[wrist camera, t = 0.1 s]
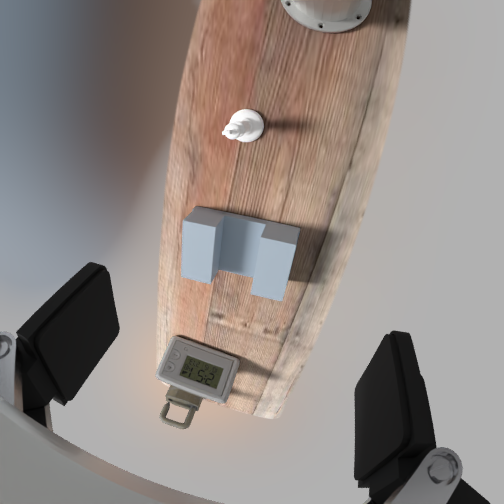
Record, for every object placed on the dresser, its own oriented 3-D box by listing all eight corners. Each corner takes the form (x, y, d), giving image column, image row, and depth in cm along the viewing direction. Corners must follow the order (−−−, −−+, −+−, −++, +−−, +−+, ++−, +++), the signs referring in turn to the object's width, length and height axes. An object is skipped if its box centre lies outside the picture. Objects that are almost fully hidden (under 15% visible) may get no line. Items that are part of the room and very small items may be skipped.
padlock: (177, 369, 71) (154, 416, 58) (208, 378, 70) (188, 427, 57) (177, 378, 73) (156, 423, 60) (207, 387, 72) (189, 434, 59)
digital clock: (245, 358, 64) (233, 397, 54) (228, 377, 68) (216, 413, 59) (178, 324, 63) (158, 359, 53) (167, 346, 67) (149, 379, 58)
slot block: (195, 205, 48) (181, 220, 43) (300, 227, 47) (298, 245, 42) (192, 258, 53) (179, 276, 48) (287, 280, 52) (283, 301, 47)
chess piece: (265, 140, 41) (251, 152, 33) (231, 143, 42) (209, 155, 34) (262, 107, 39) (247, 109, 31) (228, 110, 40) (204, 114, 32)
